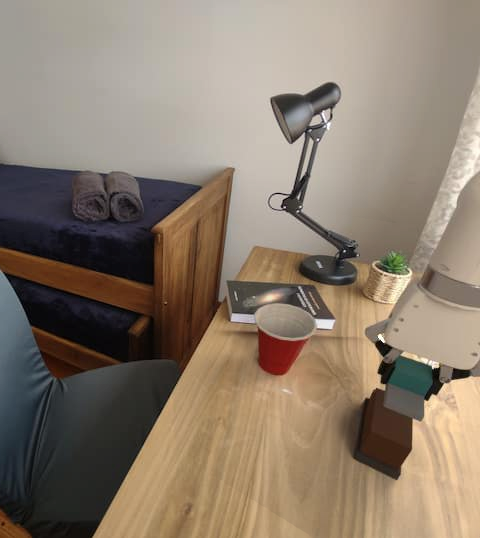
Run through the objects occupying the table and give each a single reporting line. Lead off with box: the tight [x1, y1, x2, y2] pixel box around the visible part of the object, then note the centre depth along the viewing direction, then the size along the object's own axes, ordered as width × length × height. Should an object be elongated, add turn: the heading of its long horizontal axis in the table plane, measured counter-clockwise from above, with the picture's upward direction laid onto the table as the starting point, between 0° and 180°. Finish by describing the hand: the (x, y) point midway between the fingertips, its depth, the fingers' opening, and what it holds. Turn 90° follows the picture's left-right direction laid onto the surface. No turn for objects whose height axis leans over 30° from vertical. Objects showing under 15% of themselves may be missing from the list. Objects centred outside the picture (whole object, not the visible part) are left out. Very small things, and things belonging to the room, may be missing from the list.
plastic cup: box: [253, 302, 318, 376], centre depth 69 cm, size 11×11×12 cm
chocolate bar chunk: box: [353, 387, 414, 481], centre depth 57 cm, size 13×6×6 cm, turn 144°
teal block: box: [383, 354, 433, 422], centre depth 52 cm, size 9×4×4 cm, turn 144°
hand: (403, 385), depth 54 cm, fingers closed on teal block, 4 cm apart
